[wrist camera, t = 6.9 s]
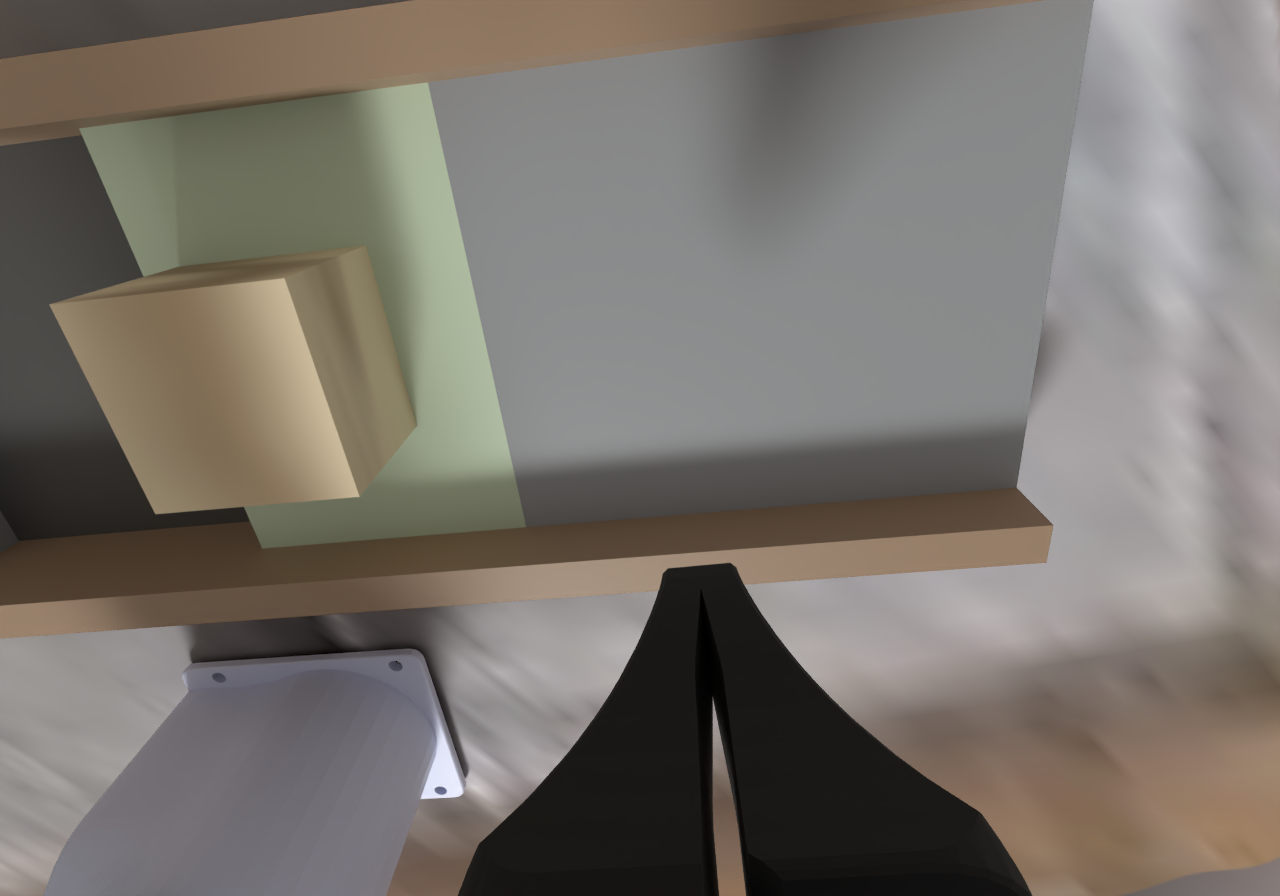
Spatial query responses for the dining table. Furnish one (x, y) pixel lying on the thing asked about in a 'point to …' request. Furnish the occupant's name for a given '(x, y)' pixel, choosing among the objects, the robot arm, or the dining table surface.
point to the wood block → (246, 378)
